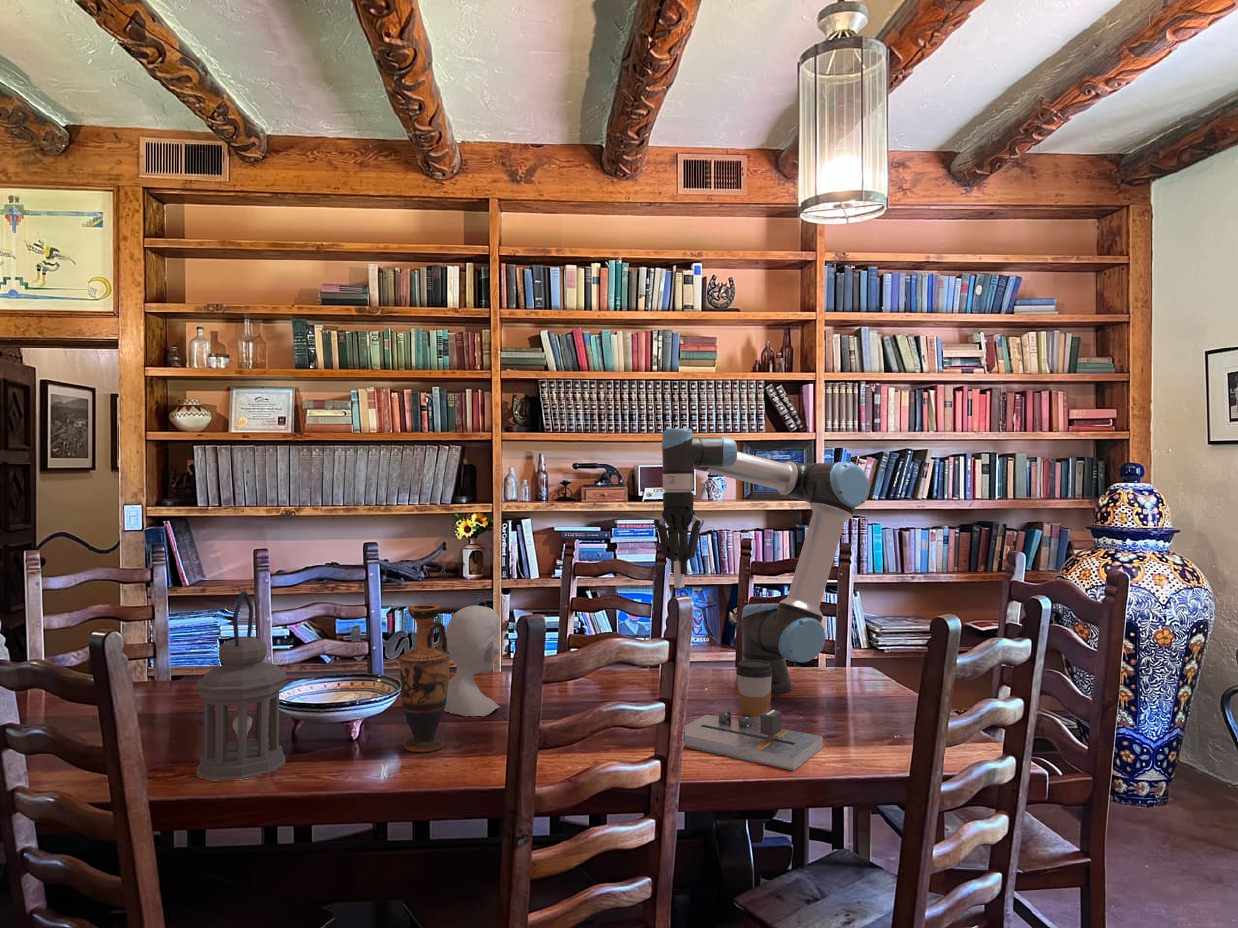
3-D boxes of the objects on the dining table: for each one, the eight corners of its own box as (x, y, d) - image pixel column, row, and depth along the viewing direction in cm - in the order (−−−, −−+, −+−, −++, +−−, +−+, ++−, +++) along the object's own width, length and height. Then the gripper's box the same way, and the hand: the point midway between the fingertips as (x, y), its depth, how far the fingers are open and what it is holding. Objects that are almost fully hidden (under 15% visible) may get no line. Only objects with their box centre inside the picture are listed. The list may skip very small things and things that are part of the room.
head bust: (529, 701, 207) (529, 604, 208) (478, 720, 191) (479, 615, 191) (467, 689, 219) (467, 597, 219) (414, 706, 203) (414, 607, 203)
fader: (769, 742, 172) (768, 708, 172) (781, 744, 170) (781, 710, 171) (760, 747, 168) (760, 713, 168) (772, 750, 167) (772, 715, 167)
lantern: (281, 776, 155) (283, 595, 155) (185, 785, 150) (187, 598, 151) (291, 748, 171) (292, 584, 171) (204, 756, 166) (206, 587, 167)
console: (706, 725, 187) (706, 705, 187) (822, 747, 171) (822, 726, 171) (671, 743, 174) (671, 723, 174) (794, 770, 158) (793, 747, 158)
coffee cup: (772, 735, 180) (772, 668, 180) (735, 733, 181) (734, 666, 181) (773, 724, 188) (772, 660, 188) (737, 722, 189) (737, 658, 190)
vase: (404, 758, 165) (405, 612, 165) (393, 742, 174) (394, 605, 175) (456, 750, 170) (456, 608, 170) (442, 735, 179) (443, 601, 180)
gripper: (647, 491, 197) (648, 587, 197) (695, 491, 190) (696, 591, 190) (661, 490, 203) (663, 583, 203) (708, 490, 197) (710, 587, 196)
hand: (679, 587), depth 196 cm, fingers closed
